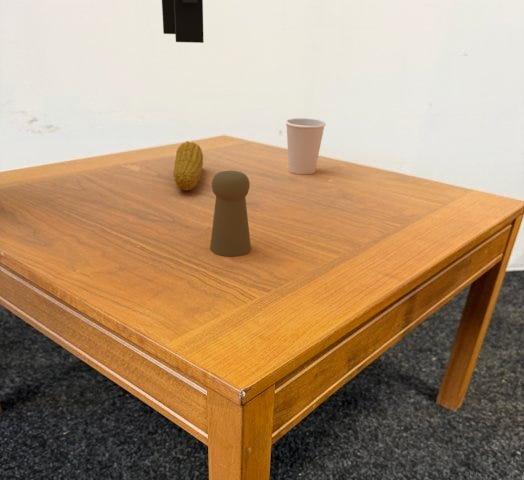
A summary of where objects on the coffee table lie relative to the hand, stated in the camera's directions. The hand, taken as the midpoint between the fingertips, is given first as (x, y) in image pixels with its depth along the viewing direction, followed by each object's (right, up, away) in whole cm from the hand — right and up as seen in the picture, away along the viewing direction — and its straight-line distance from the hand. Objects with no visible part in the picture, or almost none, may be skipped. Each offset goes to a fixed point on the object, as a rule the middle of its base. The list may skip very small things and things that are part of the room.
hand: (181, 38), depth 61 cm
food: (-6, -1, +49) cm, 50 cm away
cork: (+4, -20, +20) cm, 29 cm away
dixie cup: (+18, +4, +58) cm, 61 cm away
